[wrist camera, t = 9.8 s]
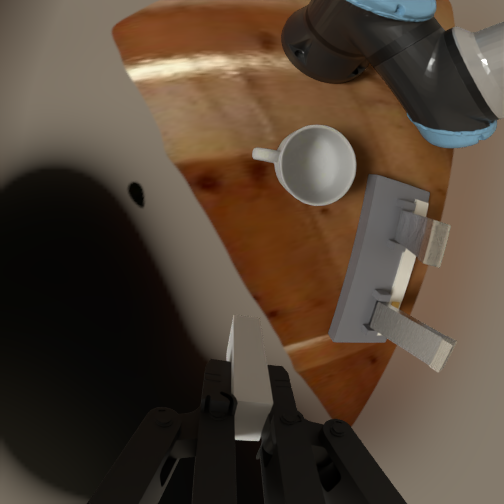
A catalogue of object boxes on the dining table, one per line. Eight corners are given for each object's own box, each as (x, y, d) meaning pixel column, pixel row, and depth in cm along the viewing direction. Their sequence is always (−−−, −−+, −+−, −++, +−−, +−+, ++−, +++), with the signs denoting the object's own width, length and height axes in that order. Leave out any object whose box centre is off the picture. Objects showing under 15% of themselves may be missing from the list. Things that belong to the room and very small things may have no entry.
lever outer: (373, 300, 45) (452, 345, 31) (381, 298, 46) (457, 341, 33) (364, 325, 47) (438, 372, 33) (372, 323, 48) (443, 367, 34)
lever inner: (397, 208, 42) (433, 220, 26) (410, 212, 42) (451, 225, 26) (391, 237, 43) (422, 263, 27) (403, 241, 43) (439, 267, 27)
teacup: (344, 148, 42) (367, 145, 34) (322, 209, 44) (341, 217, 37) (264, 114, 39) (272, 102, 32) (240, 178, 42) (243, 180, 34)
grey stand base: (368, 174, 43) (385, 175, 38) (420, 190, 45) (438, 194, 40) (328, 333, 51) (337, 349, 46) (378, 334, 53) (390, 348, 47)
